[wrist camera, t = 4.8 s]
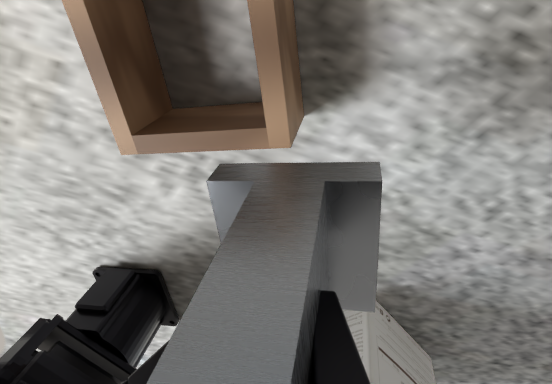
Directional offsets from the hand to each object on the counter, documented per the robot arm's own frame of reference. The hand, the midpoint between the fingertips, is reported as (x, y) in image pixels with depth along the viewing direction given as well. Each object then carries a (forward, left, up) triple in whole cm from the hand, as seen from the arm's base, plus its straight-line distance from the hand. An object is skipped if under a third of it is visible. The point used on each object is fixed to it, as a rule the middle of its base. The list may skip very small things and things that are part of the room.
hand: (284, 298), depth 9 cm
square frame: (+6, +5, -12) cm, 15 cm away
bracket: (0, 0, -3) cm, 3 cm away
